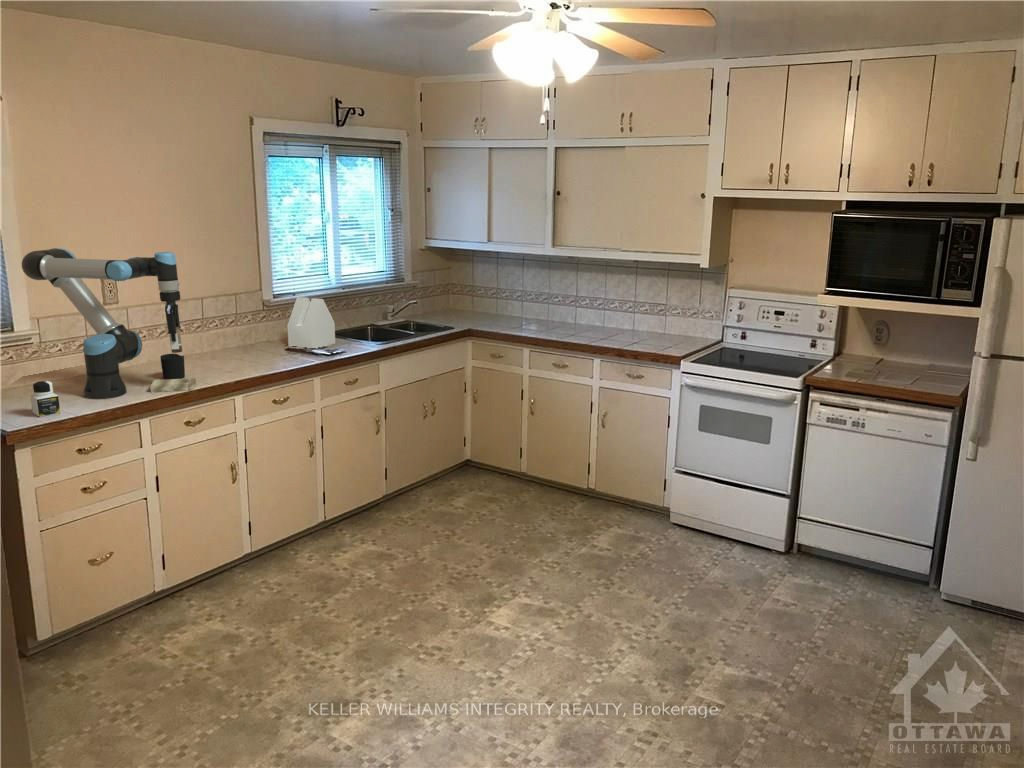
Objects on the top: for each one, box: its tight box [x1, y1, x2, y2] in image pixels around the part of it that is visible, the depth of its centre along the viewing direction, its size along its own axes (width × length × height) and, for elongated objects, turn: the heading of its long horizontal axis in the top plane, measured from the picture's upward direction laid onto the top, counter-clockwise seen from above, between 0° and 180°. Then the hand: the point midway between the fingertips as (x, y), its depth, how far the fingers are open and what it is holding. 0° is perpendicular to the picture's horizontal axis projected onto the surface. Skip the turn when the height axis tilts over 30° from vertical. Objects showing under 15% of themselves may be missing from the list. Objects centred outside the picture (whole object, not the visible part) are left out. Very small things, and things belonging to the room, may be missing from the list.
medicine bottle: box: [29, 380, 61, 418], centre depth 285 cm, size 7×7×12 cm
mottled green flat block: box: [149, 377, 197, 393], centre depth 322 cm, size 16×9×3 cm, turn 104°
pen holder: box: [159, 353, 186, 380], centre depth 339 cm, size 9×9×10 cm
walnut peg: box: [169, 327, 183, 354], centre depth 318 cm, size 4×4×10 cm
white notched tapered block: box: [286, 296, 336, 349], centre depth 409 cm, size 19×15×25 cm
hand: (176, 347), depth 318 cm, fingers closed on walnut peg, 4 cm apart
